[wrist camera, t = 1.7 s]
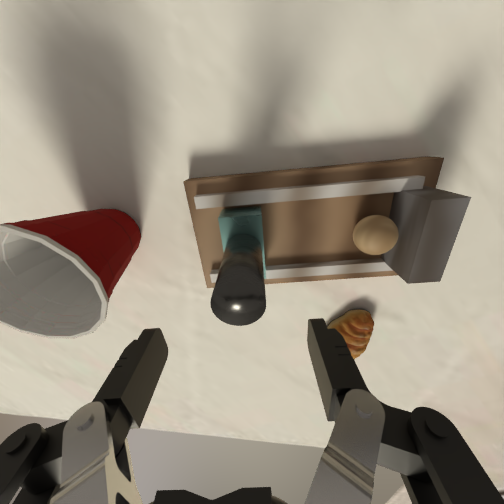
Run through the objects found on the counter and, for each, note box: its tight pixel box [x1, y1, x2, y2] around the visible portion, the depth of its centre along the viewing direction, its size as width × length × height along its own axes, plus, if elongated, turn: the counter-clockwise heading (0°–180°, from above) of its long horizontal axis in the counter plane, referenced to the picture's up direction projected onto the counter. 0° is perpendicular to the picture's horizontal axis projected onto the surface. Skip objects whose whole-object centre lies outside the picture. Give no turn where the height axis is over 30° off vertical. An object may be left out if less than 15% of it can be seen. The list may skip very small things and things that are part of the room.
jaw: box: [211, 206, 266, 326], centre depth 19 cm, size 4×7×11 cm, turn 5°
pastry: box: [327, 310, 374, 359], centre depth 32 cm, size 9×7×4 cm
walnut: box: [353, 215, 399, 255], centre depth 22 cm, size 4×4×4 cm
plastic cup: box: [0, 209, 141, 338], centre depth 21 cm, size 11×11×12 cm
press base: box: [184, 157, 471, 288], centre depth 22 cm, size 25×13×7 cm, turn 95°
